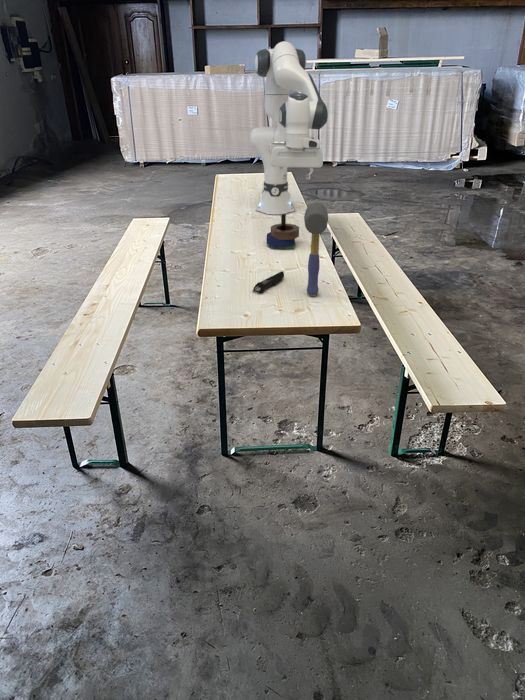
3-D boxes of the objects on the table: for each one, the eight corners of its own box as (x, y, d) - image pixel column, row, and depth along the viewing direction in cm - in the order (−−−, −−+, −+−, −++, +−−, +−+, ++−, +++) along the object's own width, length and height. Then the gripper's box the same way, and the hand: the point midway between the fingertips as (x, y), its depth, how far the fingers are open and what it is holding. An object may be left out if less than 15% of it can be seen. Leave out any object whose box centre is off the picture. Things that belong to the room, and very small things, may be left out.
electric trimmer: (286, 280, 189) (287, 272, 187) (261, 294, 178) (261, 285, 176) (278, 278, 191) (278, 269, 189) (252, 291, 180) (252, 283, 178)
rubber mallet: (323, 303, 172) (329, 211, 156) (300, 302, 172) (304, 211, 157) (323, 288, 182) (328, 200, 167) (301, 287, 183) (304, 200, 168)
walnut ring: (271, 230, 223) (271, 223, 221) (298, 231, 222) (299, 223, 221) (270, 239, 213) (270, 232, 211) (298, 240, 212) (299, 232, 211)
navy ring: (267, 237, 225) (267, 230, 223) (295, 238, 224) (295, 231, 222) (265, 246, 215) (265, 239, 213) (294, 247, 214) (294, 240, 212)
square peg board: (272, 241, 224) (273, 210, 217) (294, 242, 224) (294, 211, 217) (271, 248, 216) (271, 217, 210) (293, 249, 216) (294, 217, 209)
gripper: (269, 142, 197) (269, 180, 204) (324, 143, 196) (322, 181, 203) (270, 139, 202) (269, 176, 209) (323, 140, 201) (321, 177, 208)
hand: (296, 179), depth 206 cm, fingers open, 8 cm apart
